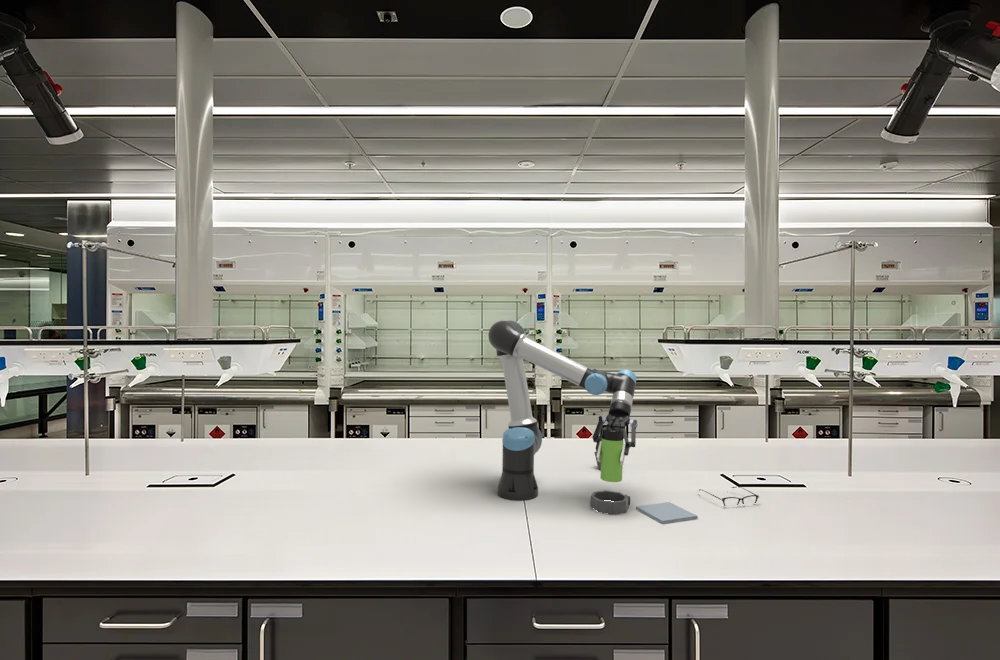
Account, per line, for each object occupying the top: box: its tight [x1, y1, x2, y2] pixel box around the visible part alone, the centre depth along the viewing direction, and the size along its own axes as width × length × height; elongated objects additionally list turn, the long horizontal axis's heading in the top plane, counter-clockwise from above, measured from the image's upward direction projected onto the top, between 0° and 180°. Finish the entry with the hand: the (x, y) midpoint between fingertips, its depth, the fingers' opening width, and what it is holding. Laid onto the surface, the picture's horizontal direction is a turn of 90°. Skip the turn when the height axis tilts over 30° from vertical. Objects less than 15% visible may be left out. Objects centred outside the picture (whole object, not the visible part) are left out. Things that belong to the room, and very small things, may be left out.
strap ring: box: [589, 490, 631, 515], centre depth 179 cm, size 14×12×4 cm
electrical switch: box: [594, 451, 601, 471], centre depth 230 cm, size 9×5×9 cm, turn 141°
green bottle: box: [599, 426, 624, 483], centre depth 179 cm, size 7×7×17 cm
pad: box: [635, 501, 699, 525], centre depth 174 cm, size 14×14×1 cm
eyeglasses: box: [698, 486, 760, 507], centre depth 190 cm, size 16×16×4 cm
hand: (609, 460), depth 175 cm, fingers closed on green bottle, 7 cm apart
